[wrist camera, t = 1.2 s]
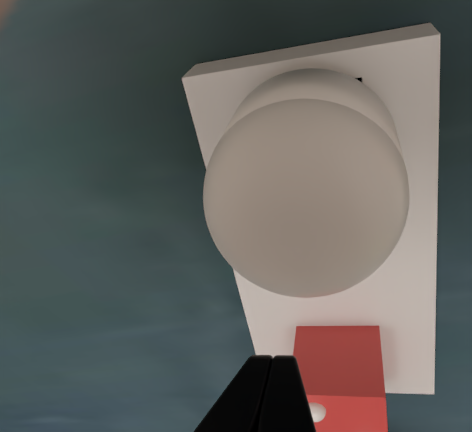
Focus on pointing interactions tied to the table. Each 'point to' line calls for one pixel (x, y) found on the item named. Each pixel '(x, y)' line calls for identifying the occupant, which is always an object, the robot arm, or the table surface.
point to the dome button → (307, 184)
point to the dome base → (396, 265)
